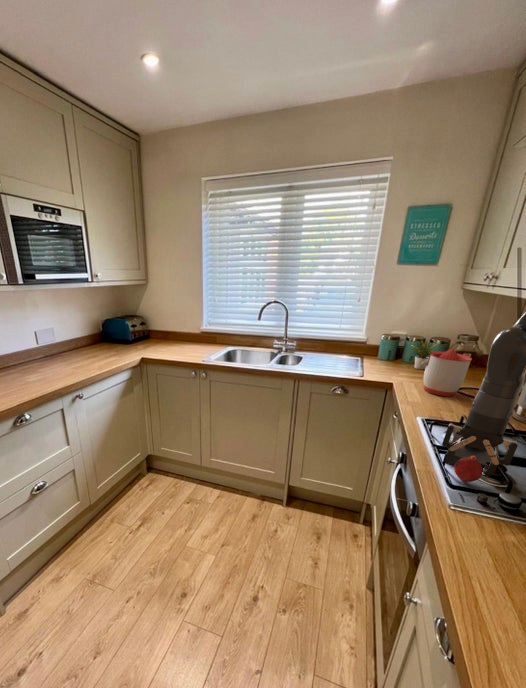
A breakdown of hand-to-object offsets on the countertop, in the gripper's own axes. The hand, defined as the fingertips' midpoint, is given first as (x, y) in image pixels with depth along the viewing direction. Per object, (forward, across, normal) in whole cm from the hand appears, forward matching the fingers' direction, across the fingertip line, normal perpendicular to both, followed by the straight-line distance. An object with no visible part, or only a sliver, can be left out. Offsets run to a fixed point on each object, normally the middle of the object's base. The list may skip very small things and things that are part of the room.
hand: (467, 468), depth 85 cm
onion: (+4, 0, 0) cm, 4 cm away
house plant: (-2, +31, -112) cm, 117 cm away
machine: (+4, 0, -15) cm, 16 cm away
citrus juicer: (+4, +17, -75) cm, 77 cm away
